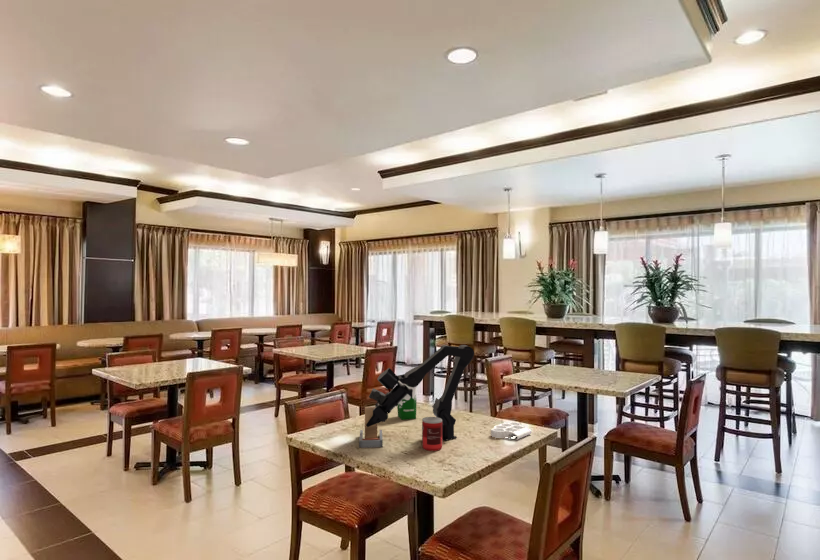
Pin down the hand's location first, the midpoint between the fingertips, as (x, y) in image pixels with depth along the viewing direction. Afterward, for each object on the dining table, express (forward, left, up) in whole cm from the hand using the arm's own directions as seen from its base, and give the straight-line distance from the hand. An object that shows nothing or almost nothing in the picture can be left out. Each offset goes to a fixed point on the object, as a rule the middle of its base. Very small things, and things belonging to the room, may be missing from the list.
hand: (367, 423), depth 195 cm
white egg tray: (-28, -53, -7) cm, 60 cm away
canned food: (-23, -15, -7) cm, 28 cm away
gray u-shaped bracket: (-2, 0, -7) cm, 7 cm away
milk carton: (+20, -34, -7) cm, 40 cm away
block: (-1, -1, -7) cm, 7 cm away
